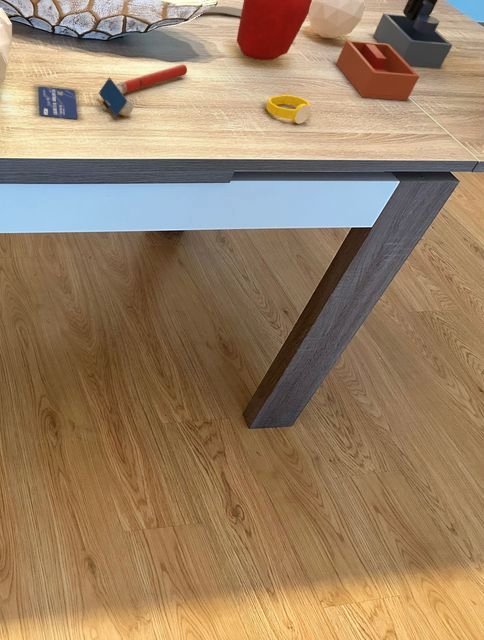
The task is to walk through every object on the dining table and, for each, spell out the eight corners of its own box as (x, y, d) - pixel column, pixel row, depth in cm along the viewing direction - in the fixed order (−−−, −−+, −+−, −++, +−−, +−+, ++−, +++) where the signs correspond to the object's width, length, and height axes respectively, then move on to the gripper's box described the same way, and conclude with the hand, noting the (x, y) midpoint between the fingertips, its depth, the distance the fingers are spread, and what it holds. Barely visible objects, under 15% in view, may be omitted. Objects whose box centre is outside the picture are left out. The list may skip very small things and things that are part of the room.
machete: (164, 19, 128) (154, -2, 130) (159, 29, 130) (149, 8, 131) (282, 20, 137) (271, 0, 139) (275, 29, 139) (264, 10, 141)
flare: (115, 98, 108) (107, 93, 109) (186, 77, 115) (178, 72, 116) (117, 87, 107) (109, 82, 108) (188, 66, 114) (180, 62, 115)
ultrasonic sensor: (122, 125, 105) (137, 105, 103) (110, 120, 103) (125, 100, 102) (105, 101, 108) (119, 81, 106) (93, 96, 107) (107, 76, 105)
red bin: (407, 100, 119) (419, 76, 116) (362, 97, 118) (373, 72, 115) (377, 67, 127) (389, 43, 124) (335, 63, 126) (346, 39, 123)
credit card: (77, 119, 103) (77, 119, 103) (39, 115, 102) (39, 115, 102) (74, 90, 108) (74, 90, 108) (38, 86, 108) (38, 86, 108)
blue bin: (440, 68, 130) (452, 45, 127) (399, 64, 129) (411, 41, 126) (411, 39, 138) (422, 16, 135) (372, 35, 137) (383, 13, 134)
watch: (292, 87, 112) (321, 101, 108) (287, 105, 114) (316, 120, 110) (262, 94, 110) (291, 108, 106) (257, 112, 112) (286, 127, 108)
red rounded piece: (252, 72, 120) (283, -15, 110) (215, 44, 126) (241, -41, 116) (301, 66, 124) (335, -19, 114) (263, 39, 130) (292, -44, 120)
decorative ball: (278, 37, 137) (312, -31, 132) (328, 58, 139) (363, -8, 133) (293, 42, 129) (330, -30, 124) (346, 65, 131) (384, -6, 125)
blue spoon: (437, 34, 128) (448, 14, 125) (418, 33, 127) (428, 12, 125) (415, 13, 134) (425, -7, 131) (397, 11, 133) (406, -9, 131)
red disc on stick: (391, 90, 120) (401, 69, 117) (370, 88, 119) (380, 67, 117) (370, 65, 126) (380, 45, 123) (350, 63, 125) (359, 43, 123)
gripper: (436, -98, 114) (381, 22, 128) (528, -87, 116) (465, 30, 130) (415, -112, 120) (364, 5, 133) (504, -102, 122) (445, 12, 135)
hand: (414, 16), depth 131 cm, fingers closed on blue spoon
